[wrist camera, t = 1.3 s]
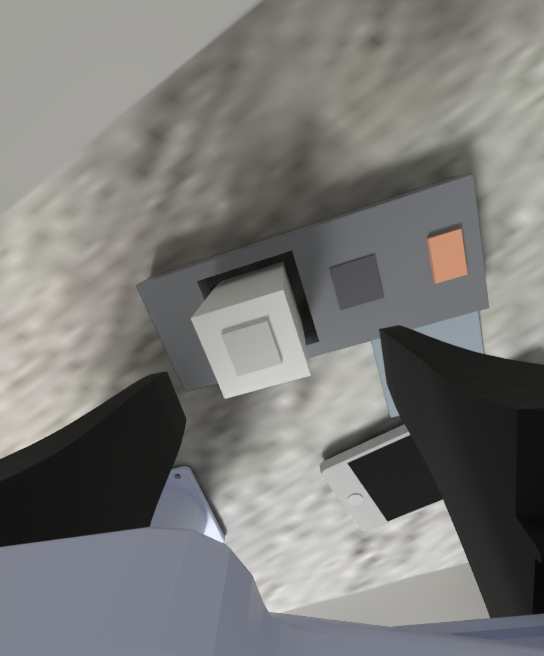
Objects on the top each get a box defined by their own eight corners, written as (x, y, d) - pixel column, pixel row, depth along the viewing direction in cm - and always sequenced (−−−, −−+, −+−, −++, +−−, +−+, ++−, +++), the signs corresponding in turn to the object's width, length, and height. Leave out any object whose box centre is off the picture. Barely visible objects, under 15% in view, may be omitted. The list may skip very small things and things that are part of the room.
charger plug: (242, 340, 22) (224, 401, 15) (219, 281, 21) (189, 319, 14) (302, 322, 22) (311, 377, 15) (283, 261, 20) (283, 290, 14)
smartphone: (317, 463, 25) (319, 473, 24) (535, 362, 21) (547, 370, 21) (361, 523, 27) (364, 534, 26) (564, 440, 24) (575, 450, 23)
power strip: (193, 376, 23) (184, 394, 21) (148, 277, 21) (133, 286, 19) (470, 298, 21) (492, 309, 18) (453, 176, 18) (476, 173, 16)
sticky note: (389, 415, 24) (390, 417, 23) (369, 331, 22) (370, 333, 21) (486, 391, 23) (488, 393, 22) (474, 301, 21) (477, 303, 20)
